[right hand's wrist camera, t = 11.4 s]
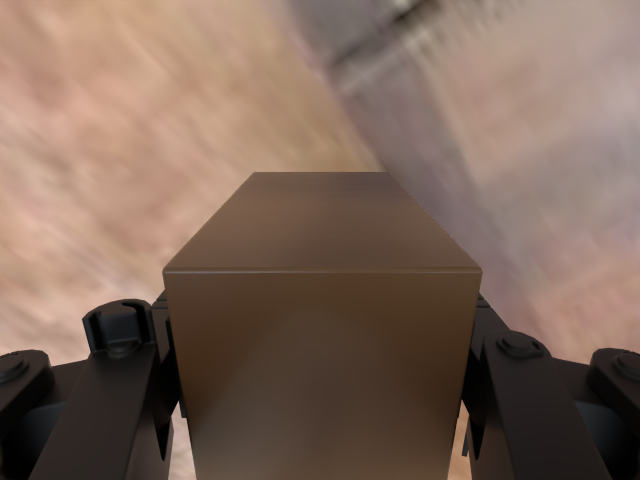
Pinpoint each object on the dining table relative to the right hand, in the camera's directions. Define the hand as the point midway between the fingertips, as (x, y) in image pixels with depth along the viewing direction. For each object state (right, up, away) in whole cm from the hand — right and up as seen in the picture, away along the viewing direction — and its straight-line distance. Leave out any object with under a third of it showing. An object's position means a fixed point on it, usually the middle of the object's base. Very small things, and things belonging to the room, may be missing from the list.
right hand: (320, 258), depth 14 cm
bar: (0, -9, +4) cm, 10 cm away
